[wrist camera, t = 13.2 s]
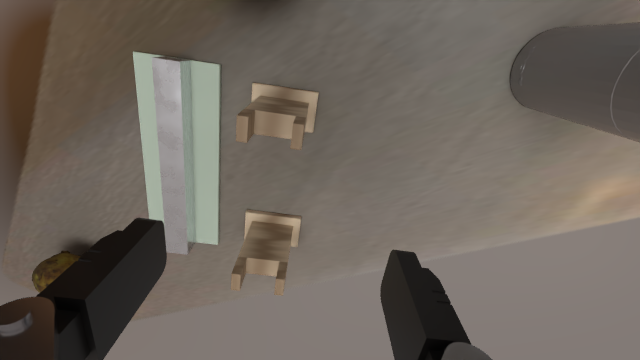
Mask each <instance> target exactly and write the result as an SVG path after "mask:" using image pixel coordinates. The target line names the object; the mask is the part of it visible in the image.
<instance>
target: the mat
mask: <svg viewBox="0 0 640 360" xmlns="http://www.w3.org/2000/svg"><path fill="white" fill-rule="evenodd" d="M152 57H163V56H162V55H156V54H149V53H142V52H136V51H135V52H133V59H134V69H135V79H136V89H137V99H138V109H139V119H140V130H141V140H142V150H143V160H144V170H145V180H146V190H147V200H148V210H149V219H153V220H161V221H163V223H164V213H163V200H162V187H161V174H160V161H159V148H158V135H157V122H156V109H155V96H154V83H153V70H152ZM166 57H169V56H166ZM172 58H175V57H172ZM179 59H182V58H179ZM186 60H188V59H186ZM191 91H192V126H193V161H194V197H195V232H196V242H199V243H207V244H215V245H218V244H219V211H220V120H221V64H215V63H208V62H202V61H195V60H191ZM164 229H165V226H164Z"/></svg>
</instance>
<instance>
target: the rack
mask: <svg viewBox="0 0 640 360" xmlns="http://www.w3.org/2000/svg"><path fill="white" fill-rule="evenodd" d="M318 93H319V92H314V91H308V90H301V89H294V88H288V87H281V86H274V85H268V84H261V83H253V84H252V103H251V104H250V105H248V106H247V107H246V108H245V109H244V110H242V111H241V112H240V113H239V114H238V115H237V126H236V141H238V142H245V143H247V142H248V141H249V139H250V138H251V137H252V135H253V134H258V135H265V136H272V137H279V138H287V139H291V147H290V149H296V150H301V148H302V143H303V138H304V132H310V133H313V129H314V122H315V115H316V108H317V100H318ZM300 223H301V216H295V215H287V214H279V213H271V212H264V211H256V210H248V209H247V211H246V219H245V238H244V243H243V246H242V248H241V251H240V254H239V256H238V259H237V261H236V264H235V266H234V269H233V271H232V278H231V290H237V291H240V289H241V286H242V283H243V280H244V277H245V274H246V273H250V274H259V275H267V276H276V283H275V293H274V294H275V295H281V296H282V295H283V291H284V285H285V278H286V272H287V265H288V259H289V252H290V246H292V247H297V244H298V237H299V230H300Z"/></svg>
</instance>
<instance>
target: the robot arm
mask: <svg viewBox="0 0 640 360" xmlns="http://www.w3.org/2000/svg"><path fill="white" fill-rule="evenodd" d="M510 83H511V89H512V92H513V94H514V96H515V98H516V99H517V100H518V102H520V103H521V104H522V105H524V106H526V107H529V108H531V109H535V110H538V111H541V112H544V113H547V114H550V115H553V116H556V117H560V118H563V119H566V120H569V121H573V122H576V123H579V124H582V125H585V126H589V127H592V128H595V129H598V130H602V131H605V132H608V133H611V134H614V135H618V136H621V137H624V138H627V139H631V140H634V141H638V142H640V22H639V23H624V24H608V25H593V26H577V27H563V28H554V29H551V30H547V31H545V32H543V33H541V34H539V35H537V36H536V37H535V38H533V39H532V40H531V41H530V42H529V43H528V44H527V45H526V46H525V47H524V48H523V49H522V50H521V52H520V53H519V55H518V56H517V58H516V60H515V62H514V64H513V68H512V71H511V79H510ZM166 259H167V255H166V242H165V229H164V223H163V221H161V220H153V219H145V218H136V219H135V220H134V221H133V222H132V223H131V224H129V225H128V226H127V227H126V228H125V229H124V230H123V231H119V230H117V231H115V232H113V233H111V234H109V235H107V236H105V237H103V238H101V239H100V240H99V241H98V242H97V243H96V244H94V245H93V246H92V247H91V248H90V249H89V251H88V252H85V253H84V254H83V255H82V256H81V257H80V258H79V260H78V261H75V262H74V263H73V264H72V265H71V266H70V267H69V268H67V269H66V270H65V271H64V272H63V273H62V274H61V275H60V276H58V277H57V278H56V279H55V280H54V281H53V282H52V283H50V284H49V285H48V286H47V287H46V288H45V289H44V290H43V291H41V292H40V293H39V294H38V295H37V296H36V297H26V298H21V299H17V300H14V301H11V302H8V303H6V304H3V305H1V306H0V360H103V359H104V357H105V356H106V355H107V353H108V352H109V350H110V349H111V347H112V346H113V345H114V343H115V341H116V340H117V339H118V337H119V336H120V334H121V333H122V331H123V330H124V328H125V327H126V326H127V324H128V323H129V321H130V320H131V318H132V317H133V316H134V314H135V313H136V311H137V310H138V308H139V307H140V305H141V304H142V303H143V301H144V300H145V298H146V297H147V295H148V294H149V292H150V291H151V289H152V288H153V287H154V285H155V284H156V282H157V281H158V279H159V278H160V276H161V275H162V273H163V271H164V268H165V265H166ZM381 302H382V307H383V311H384V315H385V320H386V324H387V328H388V333H389V337H390V341H391V346H392V350H393V354H394V358H395V360H492V359H491V358H490V357H489V356H488V355H487V354H486V353H484V352H483V351H482V350H480V349H479V348H477V347H475V346H473V345H471V343H470V341H469V339H468V337H467V335H466V333H465V331H464V329H463V327H462V325H461V323H460V320H459V318H458V316H457V314H456V312H455V310H454V308H453V306H452V305H450V300H449V298H448V296H447V295H446V294H445V290H444V288H443V286H442V284H441V282H440V280H439V279H438V278H437V277H436V276H435V275H434V274H433V273H432V272H431V271H430V270H429V269H428V268H422V267H421V265H420V263H419V260H418V258H417V256H416V254H415V253H414V252H408V251H399V250H392V251H391V253H390V256H389V259H388V263H387V266H386V270H385V273H384V276H383V280H382V284H381Z"/></svg>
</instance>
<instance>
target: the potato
mask: <svg viewBox="0 0 640 360" xmlns="http://www.w3.org/2000/svg"><path fill="white" fill-rule="evenodd" d="M80 257H81V256H77V255H74V254H71V253H70V252H68V251H61V253H59V254H57V255H54V256H52V257H51V258H49V259H46V260H44V261H43V262H41V263H40V264H39V265H38V266H37V267H36V268H35V270H34V271H33V274H32V281H33V283H34V286H35V288H36V290H37V291H38V292H41V291H43V290H44V289H45V288H46V287H47V286H48V285H49V284H50V283H52V282H53V281H54V280H55V279H56V278H57V277H58V276H60V275H61V274H62V273H63V272H64V271H65V270H66V269H67V268H69V267H70V266H71V265H72V264H73V263H74V262H75V261H78V260H79V258H80Z"/></svg>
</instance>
